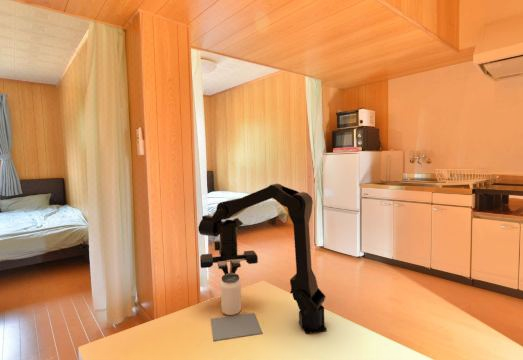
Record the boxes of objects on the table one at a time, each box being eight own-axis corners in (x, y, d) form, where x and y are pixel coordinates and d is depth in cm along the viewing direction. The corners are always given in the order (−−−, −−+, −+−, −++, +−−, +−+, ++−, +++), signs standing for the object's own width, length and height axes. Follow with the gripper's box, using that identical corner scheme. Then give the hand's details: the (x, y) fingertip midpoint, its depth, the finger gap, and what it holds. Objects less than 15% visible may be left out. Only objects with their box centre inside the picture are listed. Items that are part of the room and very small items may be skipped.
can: (240, 316, 99) (239, 284, 95) (220, 316, 99) (218, 283, 95) (242, 302, 105) (241, 272, 101) (223, 302, 105) (221, 271, 102)
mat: (254, 313, 100) (254, 312, 100) (262, 333, 88) (262, 332, 88) (210, 319, 97) (210, 318, 97) (213, 341, 85) (213, 340, 85)
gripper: (251, 230, 112) (252, 272, 114) (199, 233, 108) (200, 276, 110) (257, 238, 101) (258, 284, 103) (200, 242, 97) (201, 290, 99)
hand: (229, 283), depth 104 cm, fingers closed
